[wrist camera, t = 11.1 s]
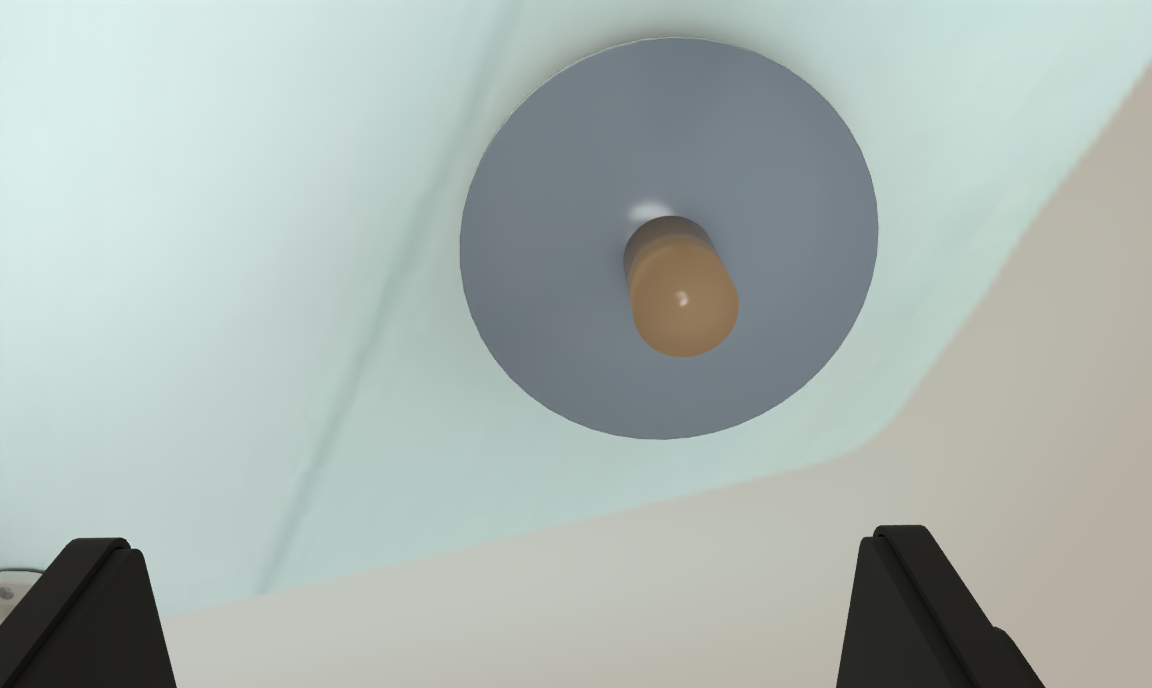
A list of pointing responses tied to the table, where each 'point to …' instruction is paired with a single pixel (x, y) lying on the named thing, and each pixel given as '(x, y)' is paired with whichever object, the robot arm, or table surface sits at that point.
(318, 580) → the table surface
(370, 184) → the table surface
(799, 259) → the lid
